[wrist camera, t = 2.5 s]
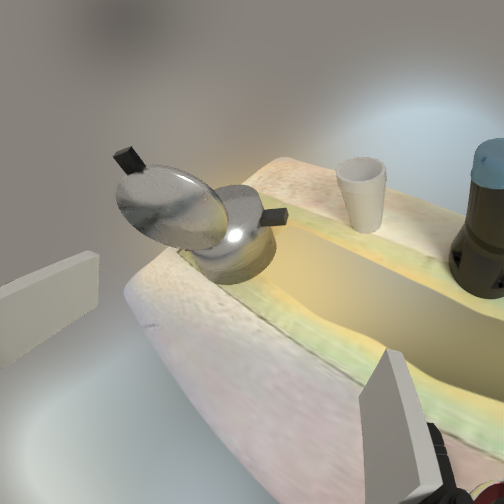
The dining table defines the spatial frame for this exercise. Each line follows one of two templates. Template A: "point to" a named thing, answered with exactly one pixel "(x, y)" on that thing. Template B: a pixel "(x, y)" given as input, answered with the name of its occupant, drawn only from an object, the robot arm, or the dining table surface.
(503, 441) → the dining table surface
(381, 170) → the foam cup
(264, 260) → the cooker pot
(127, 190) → the cooker lid
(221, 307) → the dining table surface
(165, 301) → the dining table surface
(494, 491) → the wineglass
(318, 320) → the dining table surface
